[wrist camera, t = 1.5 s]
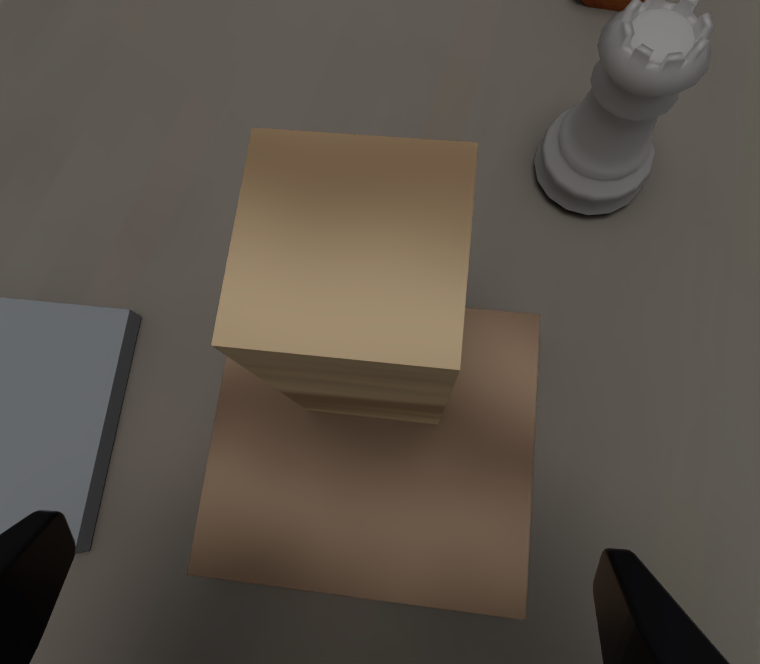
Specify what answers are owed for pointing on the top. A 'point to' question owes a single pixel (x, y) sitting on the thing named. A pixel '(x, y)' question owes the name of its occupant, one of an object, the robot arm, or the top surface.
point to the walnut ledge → (381, 486)
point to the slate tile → (60, 407)
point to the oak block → (351, 270)
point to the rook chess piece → (623, 106)
